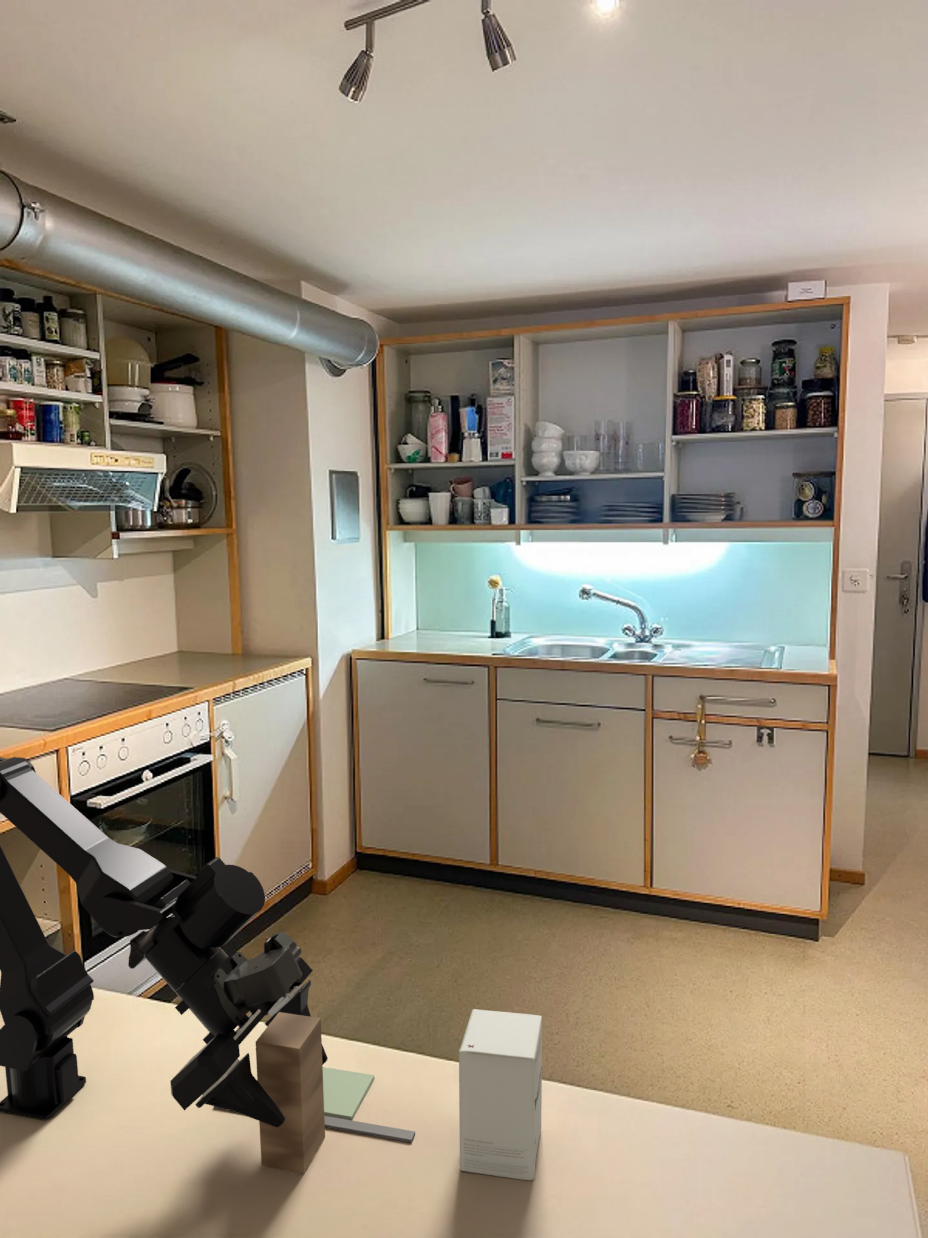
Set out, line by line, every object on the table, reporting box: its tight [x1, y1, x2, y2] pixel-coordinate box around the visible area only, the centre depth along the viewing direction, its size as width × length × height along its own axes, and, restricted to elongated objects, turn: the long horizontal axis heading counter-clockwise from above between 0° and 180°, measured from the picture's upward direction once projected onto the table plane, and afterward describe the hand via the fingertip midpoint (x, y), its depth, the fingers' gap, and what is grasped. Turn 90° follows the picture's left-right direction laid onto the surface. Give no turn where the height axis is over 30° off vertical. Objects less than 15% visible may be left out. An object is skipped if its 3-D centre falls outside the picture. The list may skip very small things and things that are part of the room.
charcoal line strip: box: [213, 1106, 416, 1143], centre depth 92 cm, size 22×1×1 cm, turn 76°
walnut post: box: [255, 1012, 326, 1175], centre depth 87 cm, size 4×5×13 cm
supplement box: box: [458, 1008, 543, 1181], centre depth 87 cm, size 7×7×13 cm
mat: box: [323, 1066, 375, 1121], centre depth 96 cm, size 10×7×1 cm
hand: (304, 1092), depth 87 cm, fingers open, 9 cm apart
